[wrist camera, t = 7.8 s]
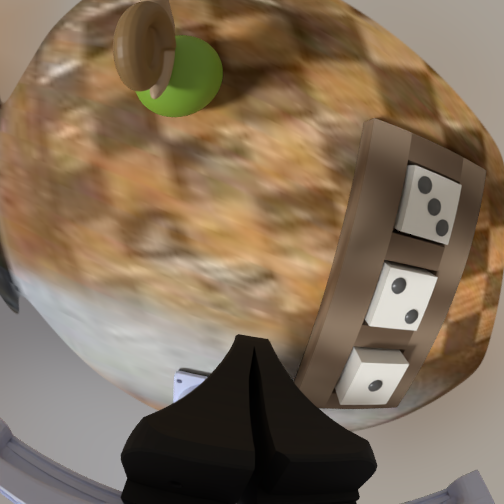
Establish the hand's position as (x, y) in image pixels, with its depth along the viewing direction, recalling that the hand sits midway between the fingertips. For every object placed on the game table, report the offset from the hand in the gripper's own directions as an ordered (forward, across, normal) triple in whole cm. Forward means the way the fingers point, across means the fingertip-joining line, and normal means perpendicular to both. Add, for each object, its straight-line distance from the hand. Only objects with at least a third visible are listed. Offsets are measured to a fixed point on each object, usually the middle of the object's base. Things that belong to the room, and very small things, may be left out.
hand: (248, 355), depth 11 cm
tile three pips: (+9, -11, -8) cm, 16 cm away
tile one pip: (+8, -11, +6) cm, 15 cm away
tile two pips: (+9, -11, -1) cm, 14 cm away
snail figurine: (+10, +7, -13) cm, 18 cm away
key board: (+9, -11, -1) cm, 15 cm away
